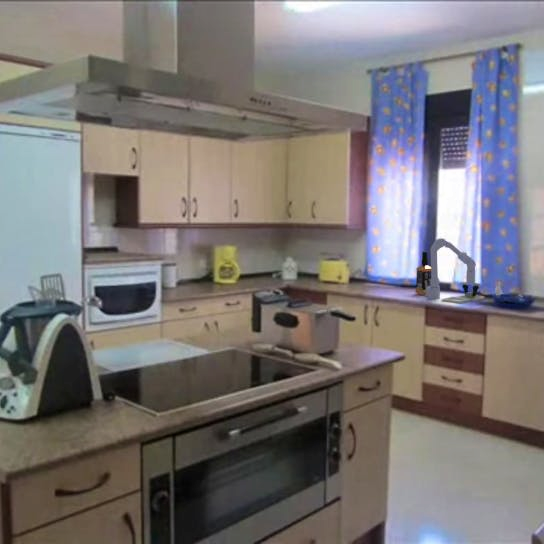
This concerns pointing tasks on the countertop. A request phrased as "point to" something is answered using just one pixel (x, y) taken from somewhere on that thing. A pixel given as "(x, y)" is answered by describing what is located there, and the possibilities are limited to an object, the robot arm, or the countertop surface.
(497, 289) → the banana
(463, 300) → the tray
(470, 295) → the stone
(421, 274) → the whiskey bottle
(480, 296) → the tray
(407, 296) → the countertop surface
